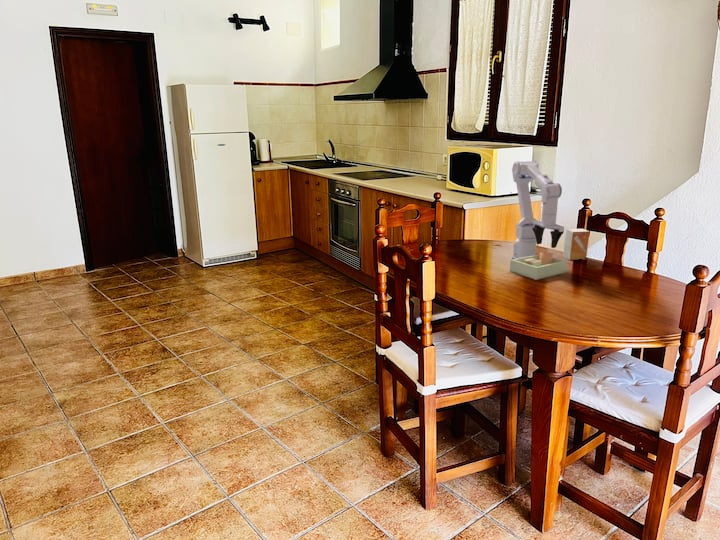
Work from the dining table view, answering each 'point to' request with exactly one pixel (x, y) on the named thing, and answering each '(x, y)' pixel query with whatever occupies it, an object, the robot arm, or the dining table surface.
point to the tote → (541, 271)
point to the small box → (576, 244)
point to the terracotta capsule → (546, 258)
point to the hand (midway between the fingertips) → (546, 245)
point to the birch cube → (533, 262)
